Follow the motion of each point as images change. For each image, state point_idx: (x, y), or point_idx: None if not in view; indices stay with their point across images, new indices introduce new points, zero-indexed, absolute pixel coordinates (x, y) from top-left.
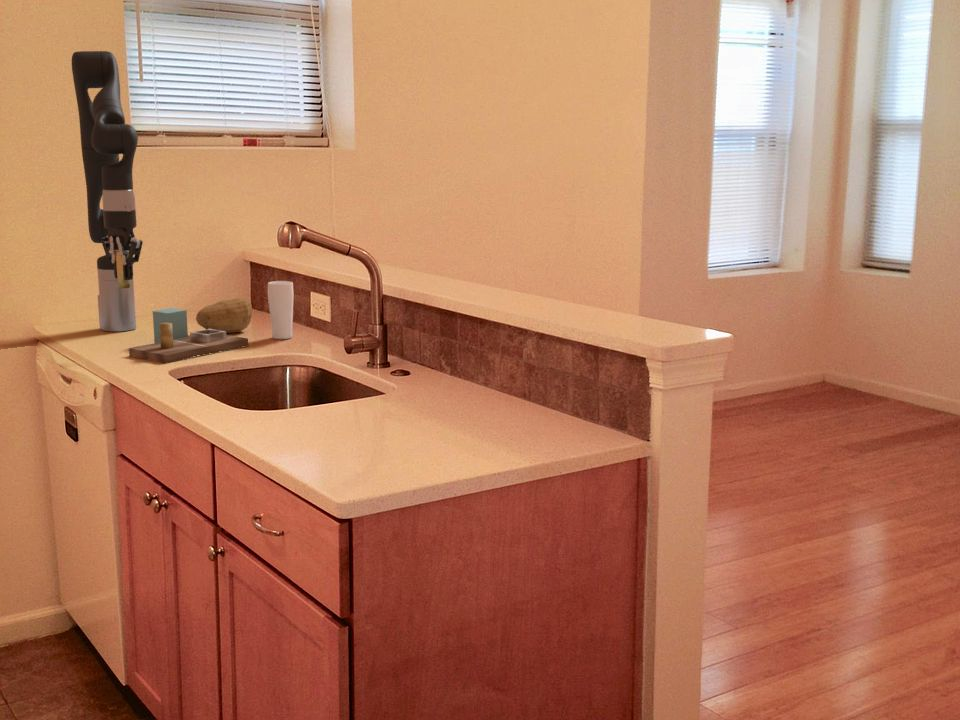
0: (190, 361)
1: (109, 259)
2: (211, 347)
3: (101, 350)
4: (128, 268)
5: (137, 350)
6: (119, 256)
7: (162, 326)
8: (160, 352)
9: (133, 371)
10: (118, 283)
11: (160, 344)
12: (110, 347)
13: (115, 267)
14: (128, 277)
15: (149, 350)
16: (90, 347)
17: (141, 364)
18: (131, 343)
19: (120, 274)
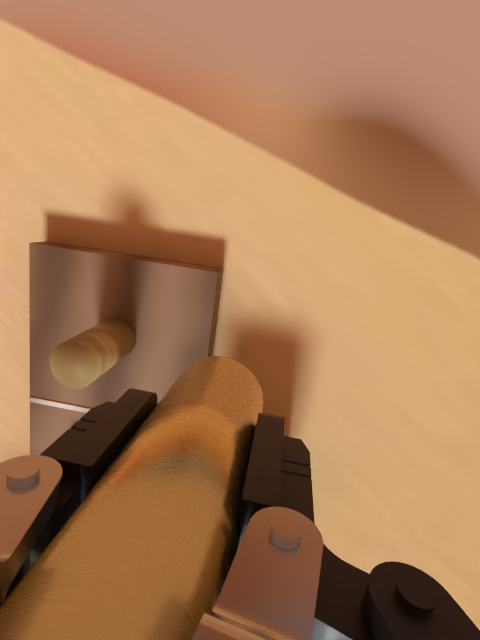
0: (13, 297)
1: (379, 570)
2: (32, 412)
3: (381, 296)
4: (46, 452)
5: (172, 264)
6: (66, 556)
7: (69, 340)
8: (73, 266)
9: (34, 96)
10: (223, 371)
11: (174, 367)
12: (390, 348)
13: (254, 472)
14: (105, 407)
15: (127, 274)
16: (459, 317)
17: (94, 191)
18: (372, 426)
19: (170, 403)
